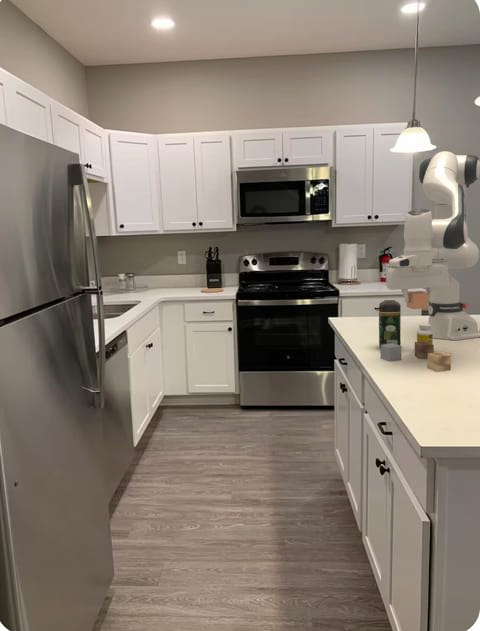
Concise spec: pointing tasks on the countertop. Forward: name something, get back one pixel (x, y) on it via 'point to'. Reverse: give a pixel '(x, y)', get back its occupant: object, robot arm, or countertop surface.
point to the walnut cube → (423, 349)
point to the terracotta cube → (418, 300)
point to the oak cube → (439, 361)
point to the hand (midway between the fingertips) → (417, 301)
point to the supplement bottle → (425, 333)
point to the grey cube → (391, 352)
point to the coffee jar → (389, 322)
